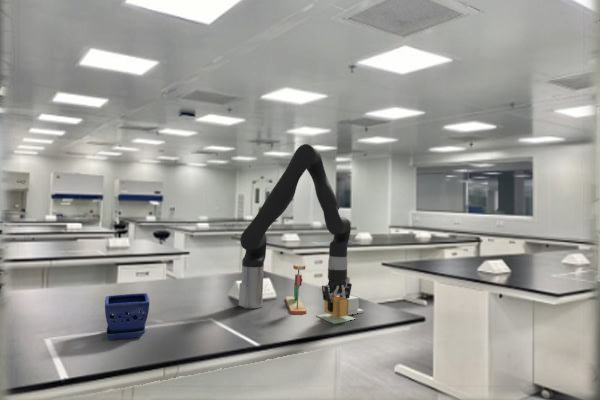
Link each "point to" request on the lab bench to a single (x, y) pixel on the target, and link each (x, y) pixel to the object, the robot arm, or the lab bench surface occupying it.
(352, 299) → the stand
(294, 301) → the crank mechanism
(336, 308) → the cardboard box
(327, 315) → the mat
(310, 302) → the lab bench surface
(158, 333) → the lab bench surface
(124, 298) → the flower pot
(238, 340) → the lab bench surface
